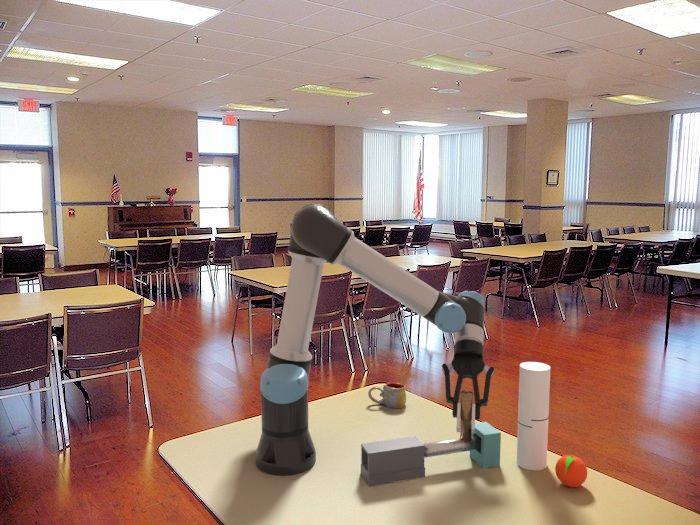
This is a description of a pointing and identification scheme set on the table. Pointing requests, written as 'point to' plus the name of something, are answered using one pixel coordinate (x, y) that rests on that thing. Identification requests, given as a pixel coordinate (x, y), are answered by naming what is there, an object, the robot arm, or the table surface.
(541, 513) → the table surface
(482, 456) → the end socket
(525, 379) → the cylindrical container
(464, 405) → the sliding bolt
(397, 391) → the mug
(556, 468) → the clementine
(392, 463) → the outer sleeve
